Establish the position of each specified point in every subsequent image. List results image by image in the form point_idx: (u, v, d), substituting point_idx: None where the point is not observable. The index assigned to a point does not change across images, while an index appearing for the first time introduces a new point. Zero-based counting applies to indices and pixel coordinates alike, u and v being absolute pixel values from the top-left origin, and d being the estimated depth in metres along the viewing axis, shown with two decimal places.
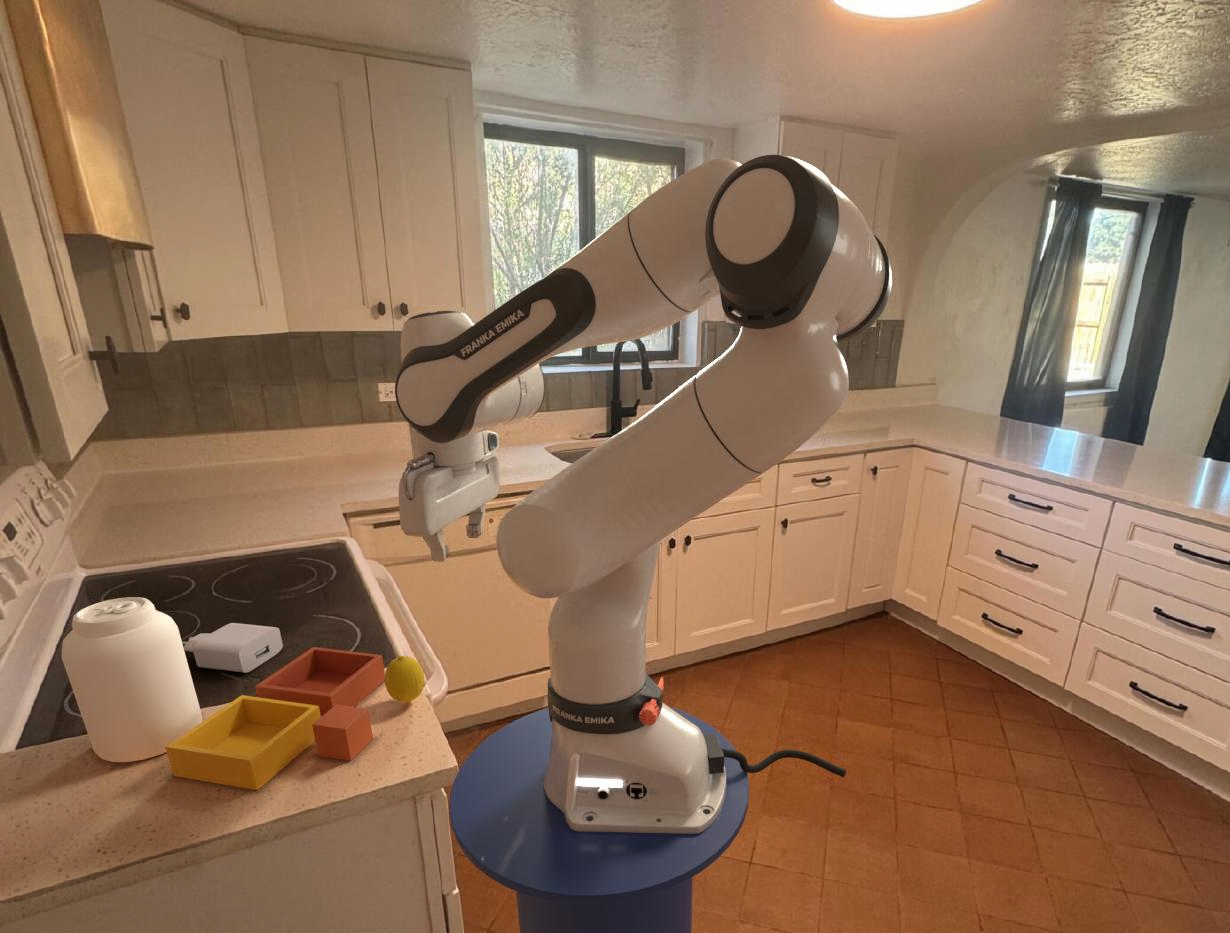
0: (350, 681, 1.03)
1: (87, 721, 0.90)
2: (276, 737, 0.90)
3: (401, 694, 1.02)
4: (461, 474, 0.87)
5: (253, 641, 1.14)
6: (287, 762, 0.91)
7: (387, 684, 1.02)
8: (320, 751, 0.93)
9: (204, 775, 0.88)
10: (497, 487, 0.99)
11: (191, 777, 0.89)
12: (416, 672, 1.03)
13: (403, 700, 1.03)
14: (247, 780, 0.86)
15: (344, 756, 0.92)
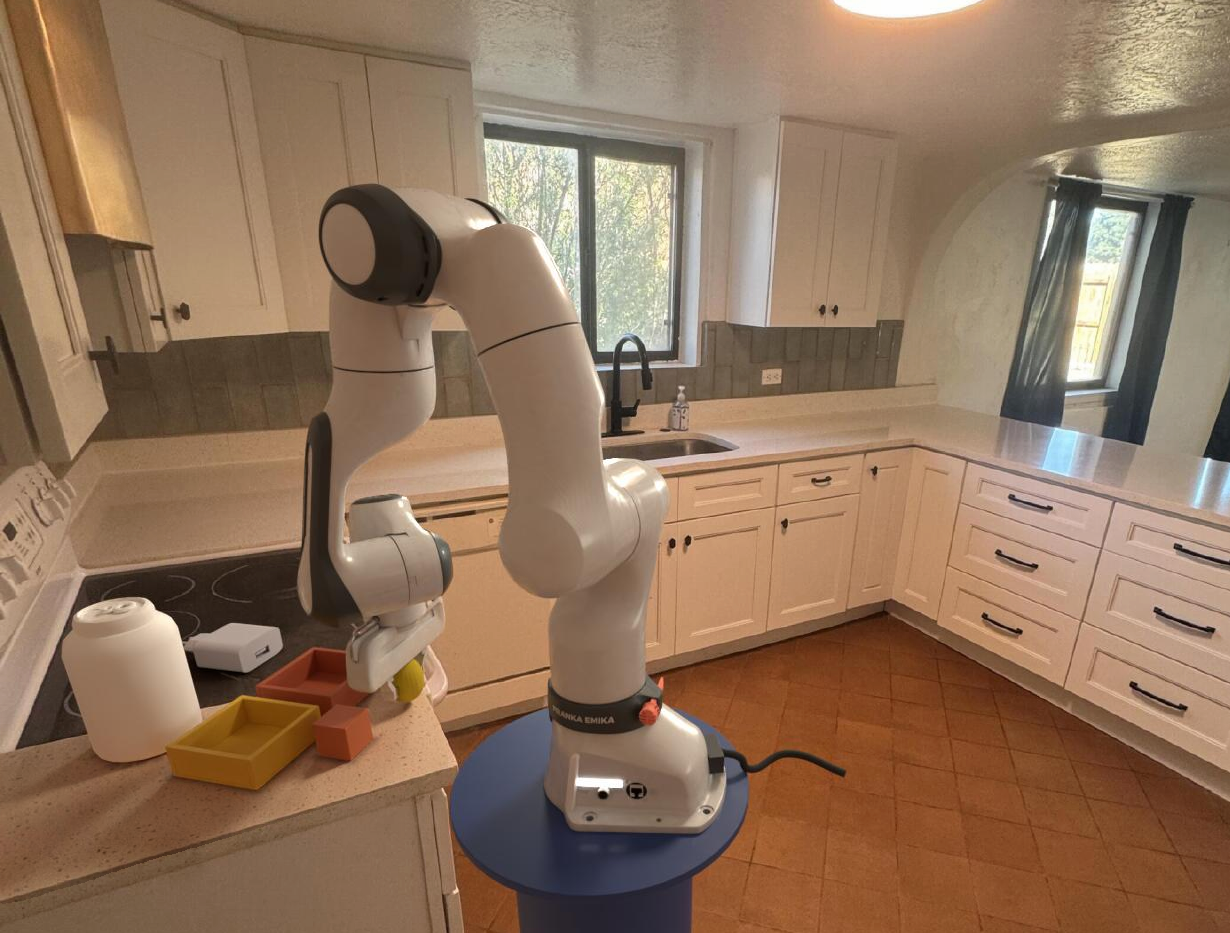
0: None
1: (87, 721, 0.90)
2: (276, 737, 0.90)
3: (401, 695, 1.02)
4: (404, 630, 0.99)
5: (253, 641, 1.14)
6: (287, 762, 0.91)
7: None
8: (320, 751, 0.93)
9: (204, 775, 0.88)
10: (443, 625, 1.10)
11: (191, 777, 0.89)
12: (416, 672, 1.03)
13: (403, 700, 1.03)
14: (247, 780, 0.86)
15: (344, 756, 0.92)
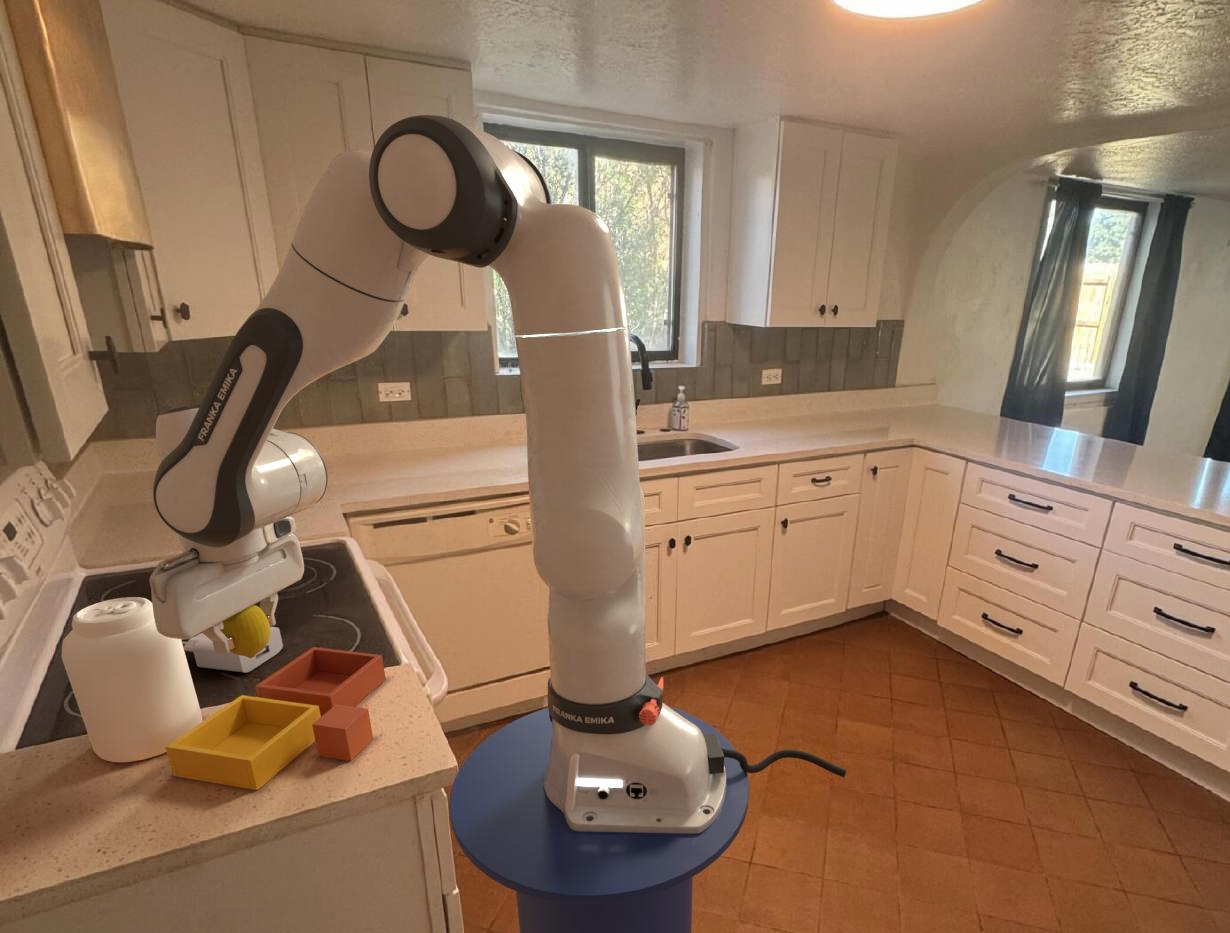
0: (350, 681, 1.03)
1: (87, 721, 0.90)
2: (276, 737, 0.90)
3: (237, 646, 0.87)
4: (234, 568, 0.83)
5: None
6: (287, 762, 0.91)
7: None
8: (320, 751, 0.93)
9: (204, 775, 0.88)
10: (300, 570, 0.95)
11: (191, 777, 0.89)
12: (256, 620, 0.87)
13: (241, 653, 0.88)
14: (247, 780, 0.86)
15: (344, 756, 0.92)
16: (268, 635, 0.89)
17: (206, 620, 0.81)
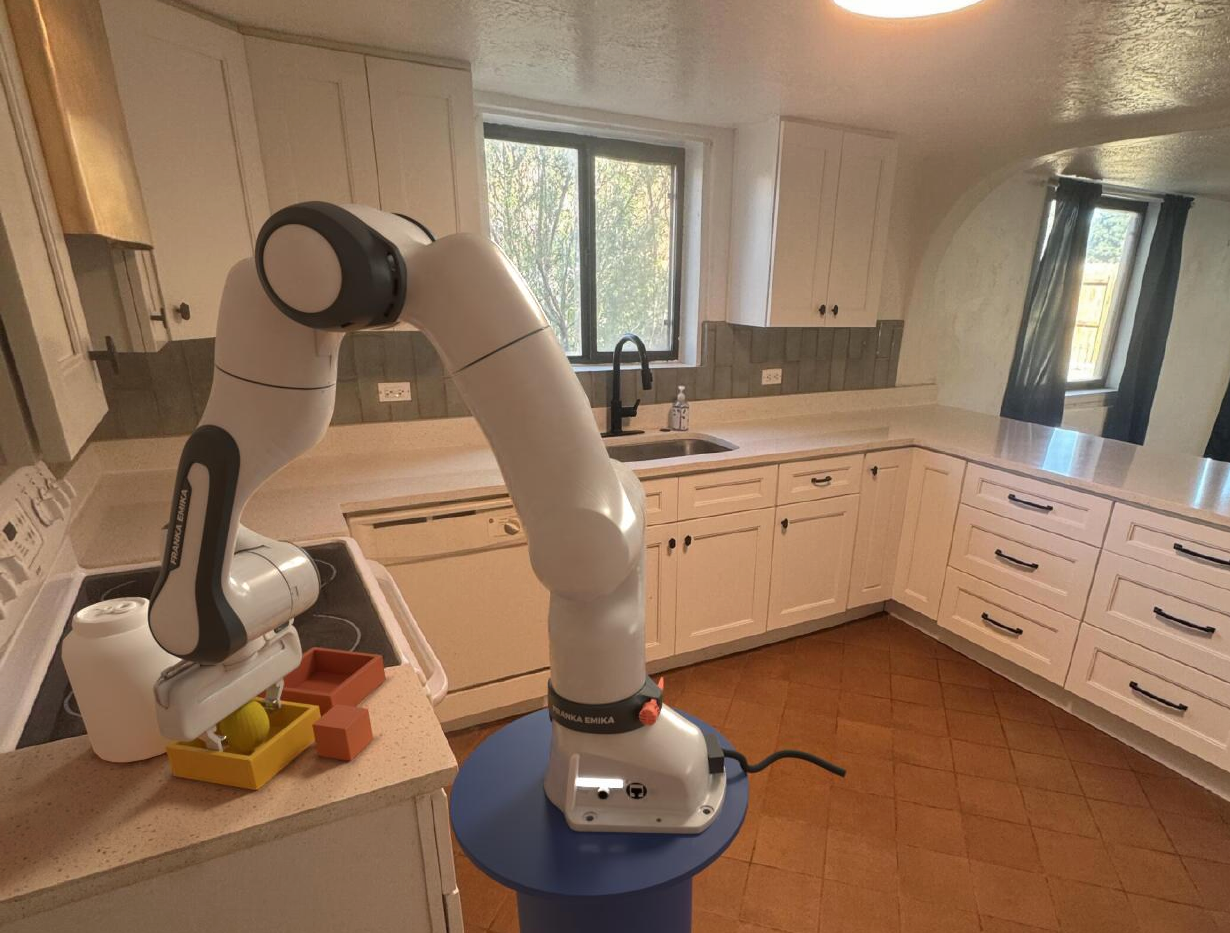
0: (350, 681, 1.03)
1: (87, 721, 0.90)
2: (276, 737, 0.90)
3: (237, 743, 0.90)
4: (235, 668, 0.86)
5: None
6: (287, 762, 0.91)
7: (221, 732, 0.90)
8: (320, 751, 0.93)
9: (204, 775, 0.88)
10: (298, 658, 0.98)
11: (191, 777, 0.89)
12: (256, 717, 0.91)
13: (241, 749, 0.91)
14: (247, 780, 0.86)
15: (344, 756, 0.92)
16: (267, 730, 0.93)
17: (207, 721, 0.84)
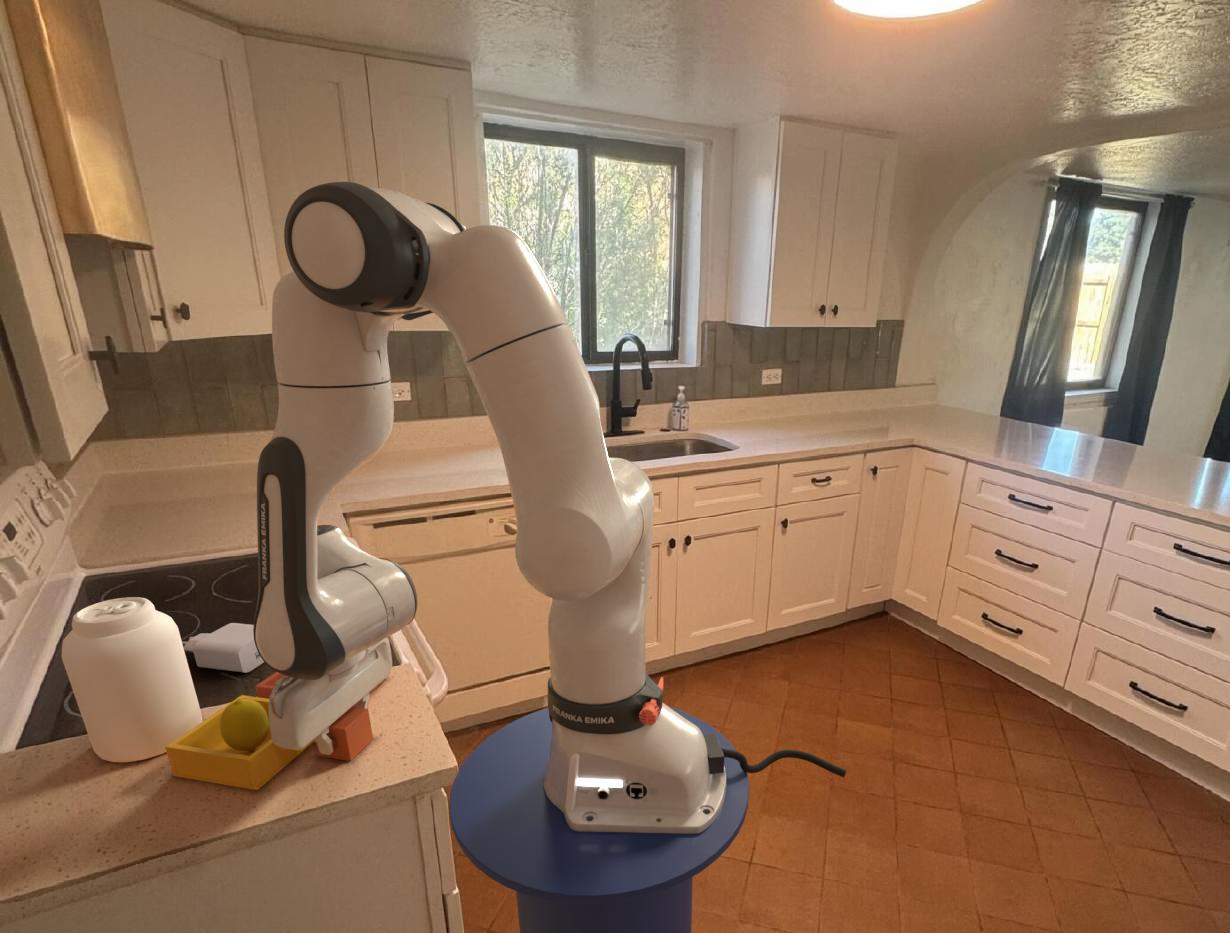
0: None
1: (87, 721, 0.90)
2: None
3: (237, 743, 0.90)
4: (339, 677, 0.88)
5: (253, 641, 1.14)
6: (287, 762, 0.91)
7: (221, 732, 0.90)
8: None
9: (204, 775, 0.88)
10: (389, 667, 1.00)
11: (191, 777, 0.89)
12: (256, 717, 0.91)
13: (241, 749, 0.91)
14: (247, 780, 0.86)
15: (344, 756, 0.92)
16: (267, 730, 0.93)
17: (315, 730, 0.86)
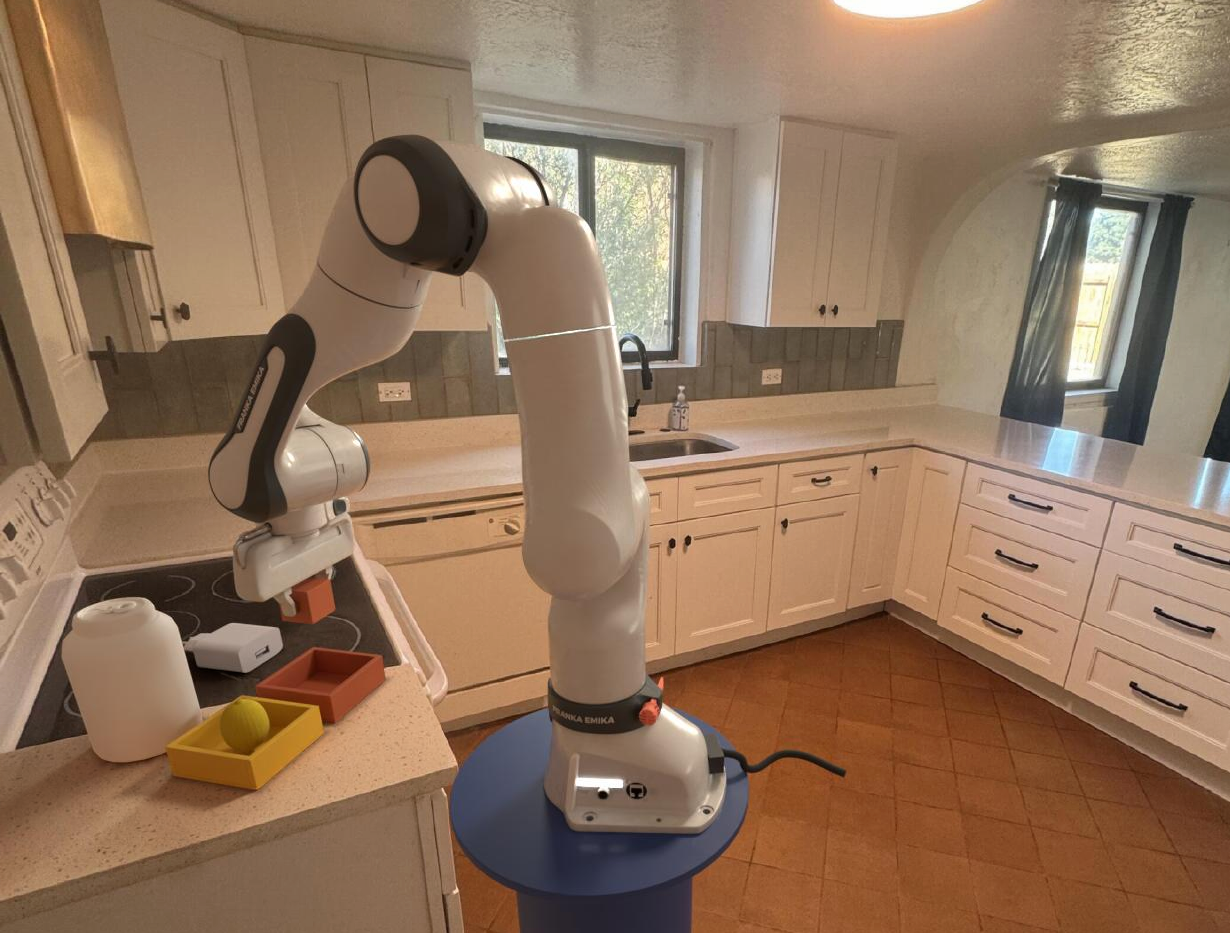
0: (350, 681, 1.03)
1: (87, 721, 0.90)
2: (276, 737, 0.90)
3: (237, 743, 0.90)
4: (301, 541, 0.94)
5: (253, 641, 1.14)
6: (287, 762, 0.91)
7: (221, 732, 0.90)
8: (284, 616, 0.99)
9: (204, 775, 0.88)
10: (352, 545, 1.06)
11: (191, 777, 0.89)
12: (256, 717, 0.91)
13: (241, 749, 0.91)
14: (247, 780, 0.86)
15: (306, 620, 0.98)
16: (267, 730, 0.93)
17: (278, 586, 0.92)
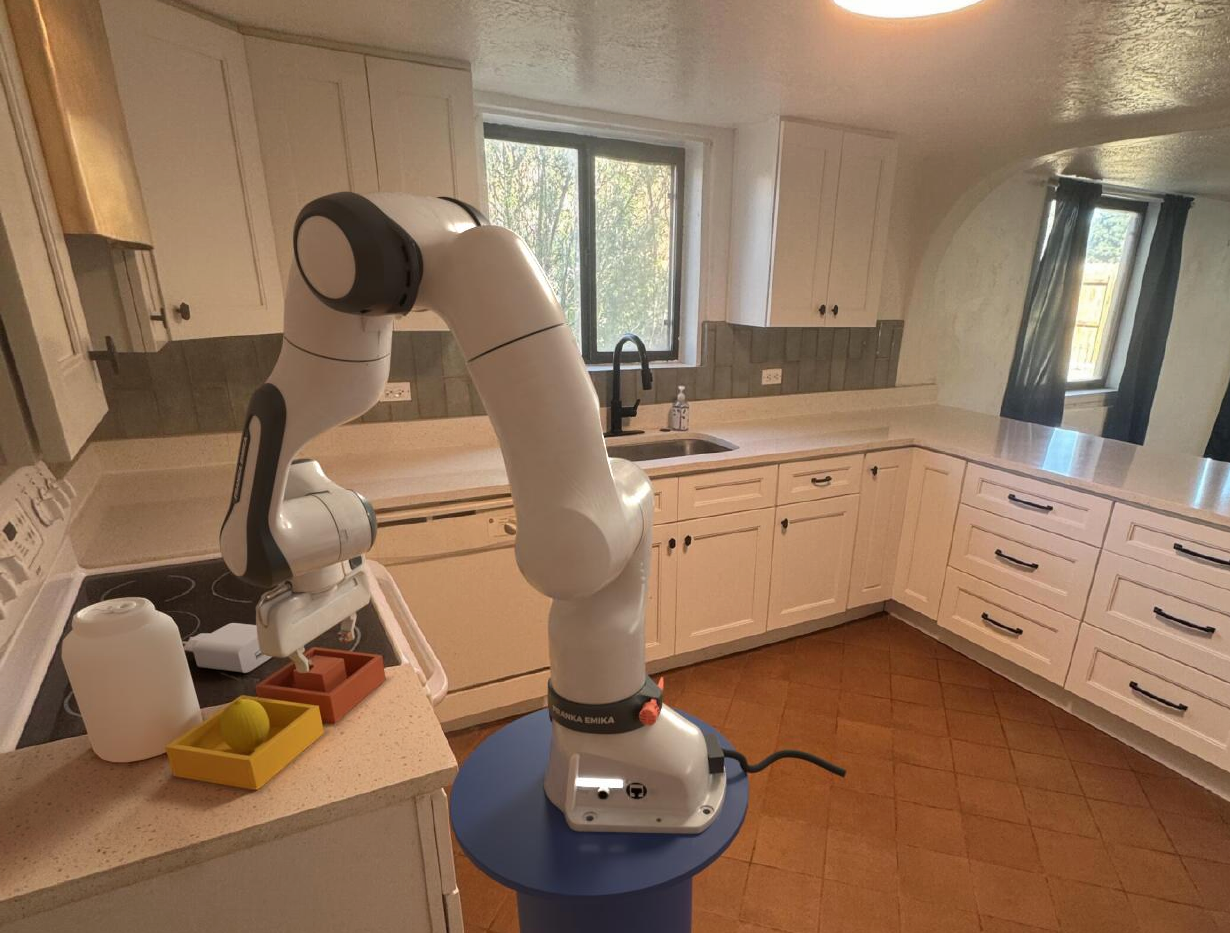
0: (350, 681, 1.03)
1: (87, 721, 0.90)
2: (276, 737, 0.90)
3: (237, 743, 0.90)
4: (320, 596, 0.99)
5: (253, 641, 1.14)
6: (287, 762, 0.91)
7: (221, 732, 0.90)
8: None
9: (204, 775, 0.88)
10: (368, 595, 1.10)
11: (191, 777, 0.89)
12: (256, 717, 0.91)
13: (241, 749, 0.91)
14: (247, 780, 0.86)
15: None
16: (267, 730, 0.93)
17: (298, 641, 0.96)
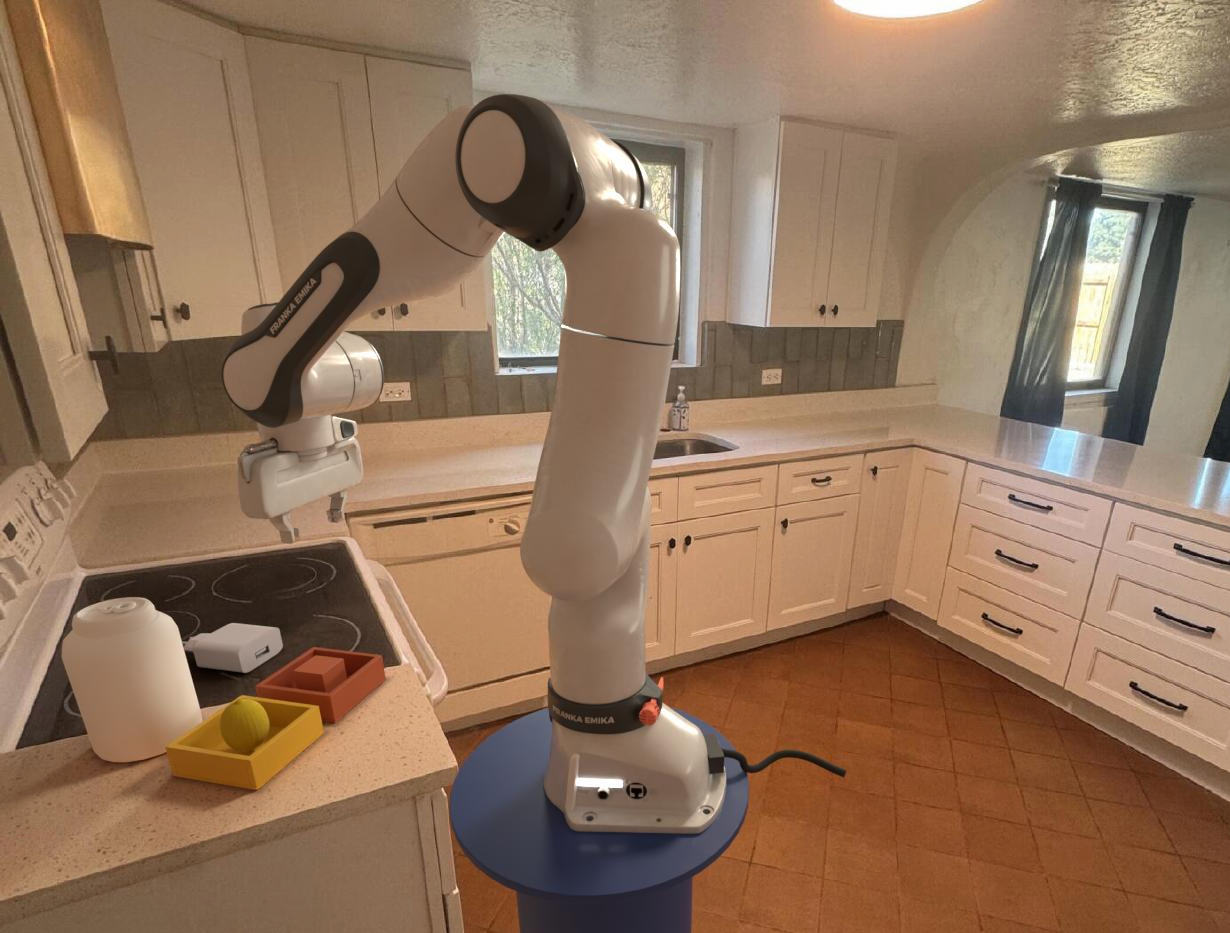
0: (350, 681, 1.03)
1: (87, 721, 0.90)
2: (276, 737, 0.90)
3: (237, 743, 0.90)
4: (308, 459, 0.91)
5: (253, 641, 1.14)
6: (287, 762, 0.91)
7: (221, 732, 0.90)
8: None
9: (204, 775, 0.88)
10: (360, 474, 1.03)
11: (191, 777, 0.89)
12: (256, 717, 0.91)
13: (241, 749, 0.91)
14: (247, 780, 0.86)
15: None
16: (267, 730, 0.93)
17: (284, 504, 0.89)
